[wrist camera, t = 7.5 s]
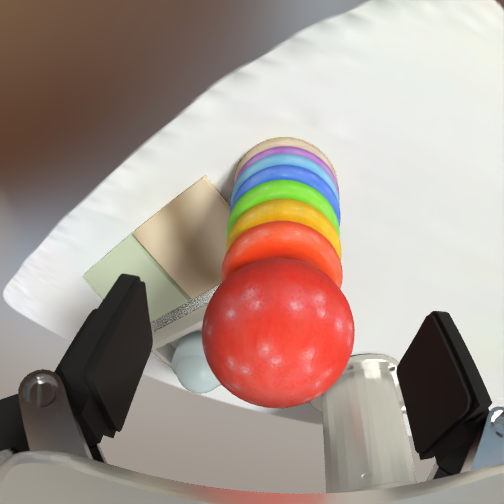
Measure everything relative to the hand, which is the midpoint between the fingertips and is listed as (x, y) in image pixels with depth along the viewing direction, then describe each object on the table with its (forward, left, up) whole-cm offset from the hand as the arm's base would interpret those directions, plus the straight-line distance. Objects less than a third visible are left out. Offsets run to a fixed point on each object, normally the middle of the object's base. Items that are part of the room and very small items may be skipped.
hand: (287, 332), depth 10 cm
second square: (+13, +12, -17) cm, 25 cm away
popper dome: (+5, +19, -15) cm, 25 cm away
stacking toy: (0, 0, -17) cm, 17 cm away
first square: (+6, +6, -17) cm, 19 cm away
